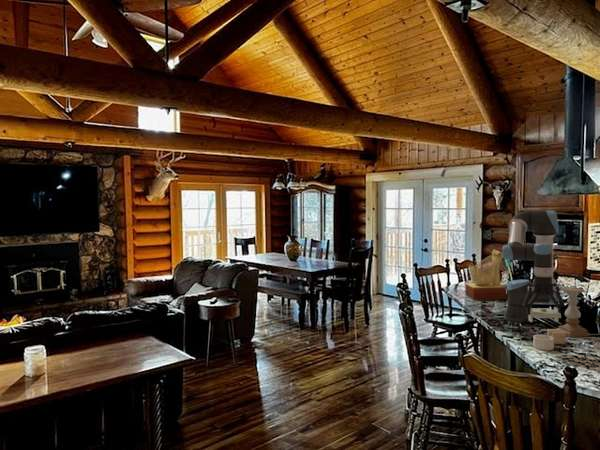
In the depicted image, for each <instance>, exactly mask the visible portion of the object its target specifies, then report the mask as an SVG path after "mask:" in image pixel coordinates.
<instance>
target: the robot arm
mask: <svg viewBox="0 0 600 450" xmlns="http://www.w3.org/2000/svg"><path fill="white" fill-rule="evenodd" d="M558 221H559V219H558V215H557V212H556V210H545V209H544V210H525V211H521V212H519V213H517V214H515V215H514V216H512V218H511V219H510V220H509V222H508V229H509V235H508V241H507V244H504V245H502V250H501V253H502V255H503V258H502V259H503V260H507V261H531V262H533V261H534V265H533V269H534V270H533V274H534V276H533V277H534V279H533V282H530V280H529V279H515V280H510V281H509V282H507V287H506V291H507V306H506V310H505V312H504V319H505V320H506V321H508V322H516V323H529V322H530V323H533V320H534V316H532V308H533V307H532V306H534V304H542V305H543V304H544V305H554V307H553V310H554V311H556V312H558V313H560V314H561V309H562V307H565V302H564V300H563V298H562V297H563V296H562V295H561V293H560V284H558V283H557V280H556V279H555V278H554V237H555V236H556V235H557V233H558V232H560V227H559V222H558ZM526 232H532V235H533V236H534V237H535V243H534V245H525V236H526ZM553 321H554V322H557V323H559V318H553Z"/></svg>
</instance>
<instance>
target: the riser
mask: <svg viewBox="0 0 600 450" xmlns="http://www.w3.org/2000/svg"><path fill="white" fill-rule="evenodd" d="M546 329H547V331H546V332H547V333H546V335H548V336H551V337H553V338H554V345H555V344H556V345H557V344H558V345H559V344H560V345H561V344H566V343H567V339H566V337H567V336H566V332H564V331H562V330H560V329H557V328H546Z"/></svg>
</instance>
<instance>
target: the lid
mask: <svg viewBox="0 0 600 450" xmlns="http://www.w3.org/2000/svg"><path fill="white" fill-rule="evenodd" d="M531 308H532V316H533V318H535V319H554V318H558V319H561V318H562V314H561V312H560V313H558V312H556V311H554V309H552V308H550V307H548V308H546V307H545V308H540V307H537V308H533V307H531Z"/></svg>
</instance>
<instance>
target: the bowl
mask: <svg viewBox="0 0 600 450" xmlns="http://www.w3.org/2000/svg"><path fill="white" fill-rule="evenodd" d="M532 338H533V339H532V340H533V341H532V343H533V345H532V346H533V348H535V349H536V348H537V349H536V350H541V351H554V347H555V344H554V338H553V337H551V336H548V335H547V334H533V336H532Z"/></svg>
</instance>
